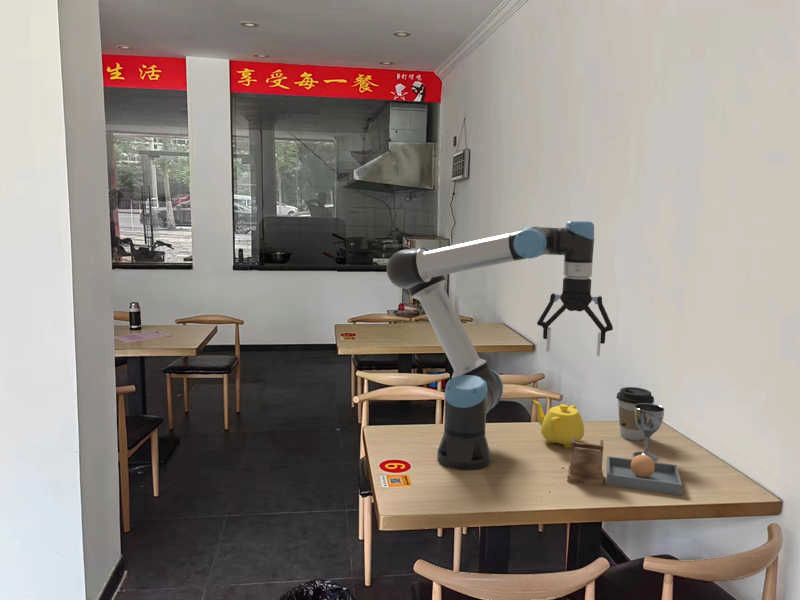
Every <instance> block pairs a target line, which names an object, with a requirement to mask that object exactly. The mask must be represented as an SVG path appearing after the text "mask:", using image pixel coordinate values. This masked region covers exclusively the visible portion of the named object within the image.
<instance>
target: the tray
mask: <svg viewBox="0 0 800 600" xmlns="http://www.w3.org/2000/svg"><path fill="white" fill-rule="evenodd" d="M632 459H633V458H624V457H617V456H609V455H607V456H606V465H605V466H606V485H609V486H616V487H621V488H626V489H627V488H629V489H635V490H641V491H650V492H655V493H656V492H657V493H664V494H671V495H678V496H682V489H683V483H682V480H681V477H680V474H679V469H678V466H677V464H671V463H663V462H656V461H653V462H654V465H655V470H654V472H653V474H652V475H651V476H649V477H647V478H641V477H638V476H637V475H635V474H634V473H633V471H632V469H631V461H632Z"/></svg>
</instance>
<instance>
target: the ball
mask: <svg viewBox="0 0 800 600" xmlns="http://www.w3.org/2000/svg"><path fill="white" fill-rule="evenodd" d="M631 459H632V461H631V469H632V471H633V473H634V474H635V475H637V476H638V477H641V478H647V477H649V476H651V475H652V474H653V472H654V470H655V465H654V462H655V461H653V460H652V459H651V458H650V457H648V456H646V455H637V456H635V457H634V456H633V458H631Z"/></svg>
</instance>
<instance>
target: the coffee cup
mask: <svg viewBox="0 0 800 600" xmlns="http://www.w3.org/2000/svg"><path fill="white" fill-rule="evenodd" d="M615 397H616V399H617V405H618V419H619V432H620V437H622V438H624V439H625V438H626V440H629V441H642V440H645V438H644V435H643V433H642V432H641V431H640V429H639V428H638V427H637V425H636V422H635V415H634V412H635V405H636V404H638V403H650V404H655V398H654V396H653V395H652V391H650V390H648V389H645V388H641V387H634V386H627V387H622V388H620V389H619V391H618V392H617V394H616V396H615Z"/></svg>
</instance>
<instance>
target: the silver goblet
mask: <svg viewBox="0 0 800 600" xmlns="http://www.w3.org/2000/svg"><path fill="white" fill-rule="evenodd" d="M634 415H635V422H636V425H637V427H638V428H639V429H640V431H641V432H642V433H643V435H644V451H635V452H633V453H632V456H633V458H634V457H635V456H637V455H646V456H648V457H650V458H651V459H652V460H653V462H656V461H658V460H659V456H658V455H656V454H654V453H651V452H649V451H648V448H649V442H650V438H652V435H654V434H655V433H656V432H657V431H659V430H660V428H661V426H662V424H663V422H664V421H663V420H664V415H665V408H664V407H663V406H662V405H658V404H655V403H652V404H650V403H638V404H636V405H635V412H634Z"/></svg>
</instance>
